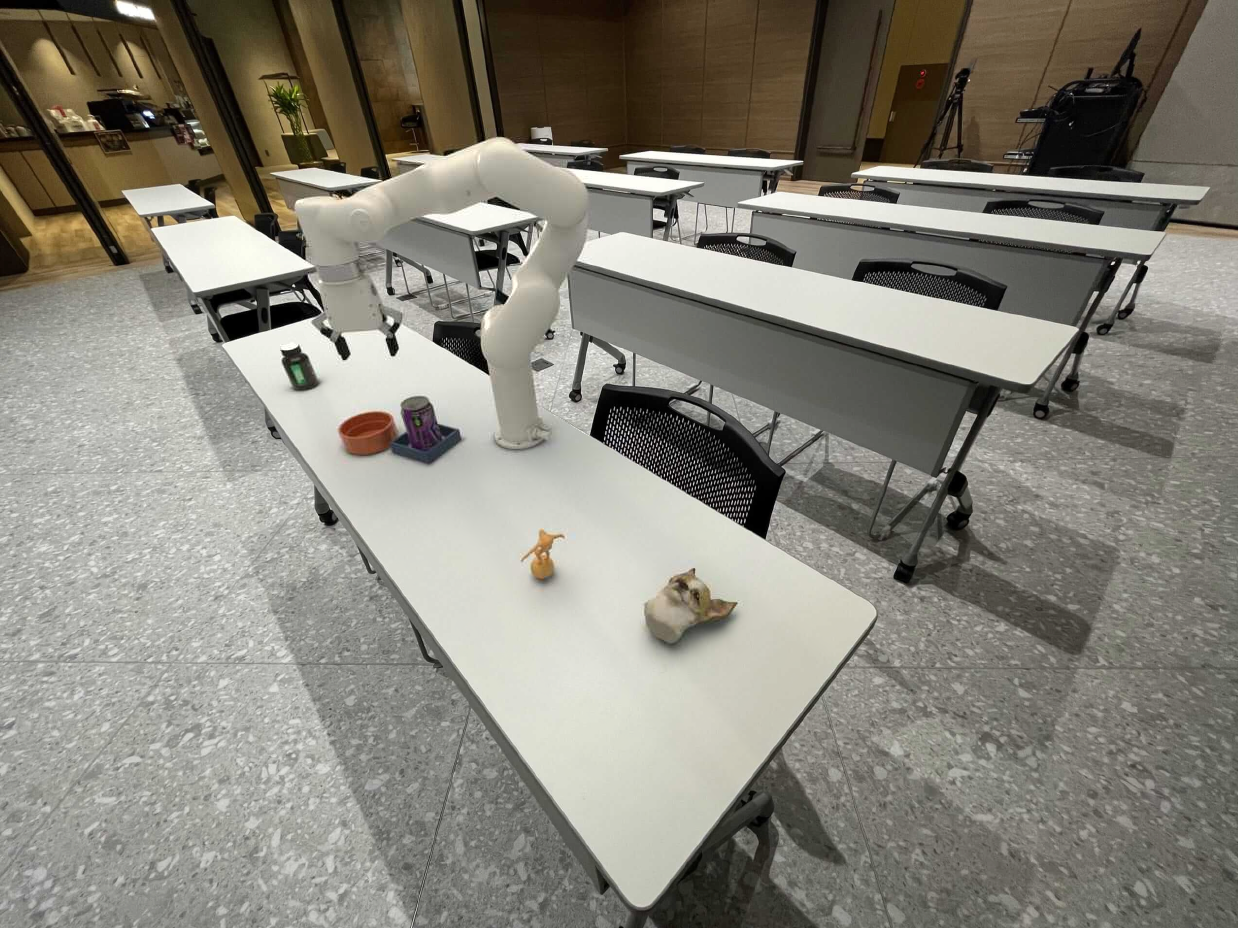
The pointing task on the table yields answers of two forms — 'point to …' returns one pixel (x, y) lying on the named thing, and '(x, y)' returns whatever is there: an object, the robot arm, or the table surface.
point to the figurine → (542, 563)
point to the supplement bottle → (298, 367)
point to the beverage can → (420, 422)
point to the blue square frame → (432, 454)
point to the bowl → (368, 432)
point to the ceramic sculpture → (683, 607)
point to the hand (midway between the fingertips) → (370, 355)
